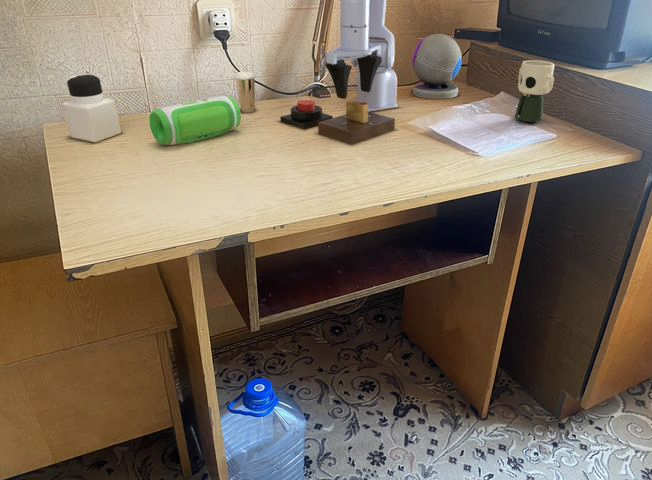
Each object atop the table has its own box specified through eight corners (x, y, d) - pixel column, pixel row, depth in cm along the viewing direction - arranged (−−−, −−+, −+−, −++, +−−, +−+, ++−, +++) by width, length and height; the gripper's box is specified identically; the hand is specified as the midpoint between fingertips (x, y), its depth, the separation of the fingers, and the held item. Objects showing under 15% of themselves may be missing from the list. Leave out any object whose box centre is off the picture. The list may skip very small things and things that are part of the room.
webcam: (419, 85, 157) (423, 29, 150) (463, 90, 153) (469, 32, 145) (404, 95, 147) (408, 35, 139) (450, 101, 143) (457, 40, 135)
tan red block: (346, 118, 120) (346, 99, 118) (351, 117, 121) (351, 98, 119) (363, 123, 117) (363, 104, 115) (368, 121, 118) (368, 103, 116)
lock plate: (361, 120, 127) (361, 108, 126) (394, 129, 122) (395, 117, 120) (318, 133, 119) (317, 121, 117) (351, 144, 113) (352, 131, 112)
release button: (306, 106, 127) (306, 98, 126) (318, 110, 125) (318, 102, 124) (294, 109, 124) (293, 102, 123) (306, 113, 122) (305, 105, 121)
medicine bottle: (122, 133, 116) (109, 74, 110) (95, 143, 111) (80, 82, 104) (97, 128, 119) (83, 71, 112) (70, 137, 113) (54, 78, 107)
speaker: (225, 125, 122) (221, 91, 118) (244, 133, 118) (241, 97, 114) (151, 142, 112) (144, 105, 108) (169, 151, 107) (162, 113, 103)
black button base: (309, 114, 131) (308, 101, 129) (332, 121, 126) (332, 108, 125) (280, 121, 125) (279, 108, 124) (304, 129, 121) (303, 116, 119)
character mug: (501, 116, 133) (510, 59, 126) (524, 112, 135) (533, 57, 128) (531, 128, 124) (543, 69, 117) (555, 125, 127) (567, 66, 120)
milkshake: (260, 107, 135) (257, 65, 130) (254, 113, 130) (251, 70, 125) (242, 106, 135) (238, 64, 130) (236, 113, 131) (231, 69, 125)
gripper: (344, 31, 102) (344, 104, 110) (393, 24, 112) (389, 91, 119) (318, 27, 106) (319, 98, 114) (366, 20, 116) (365, 86, 123)
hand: (353, 94), depth 116 cm, fingers open, 7 cm apart
